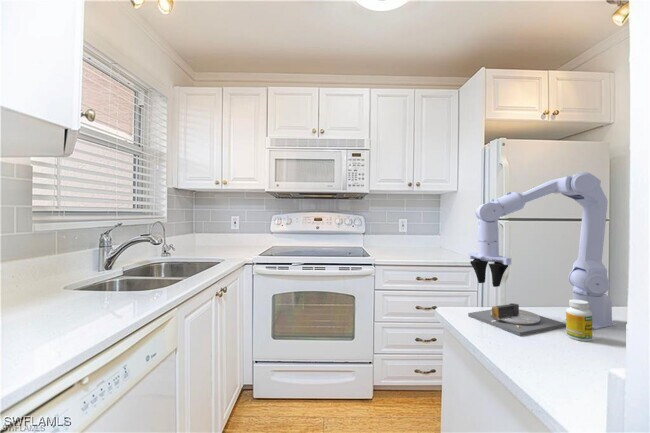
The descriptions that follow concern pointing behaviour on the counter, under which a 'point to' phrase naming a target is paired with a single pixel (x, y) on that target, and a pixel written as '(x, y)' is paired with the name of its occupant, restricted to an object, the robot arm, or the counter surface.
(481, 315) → the dial plate
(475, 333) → the counter surface
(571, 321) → the supplement bottle
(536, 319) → the dial
